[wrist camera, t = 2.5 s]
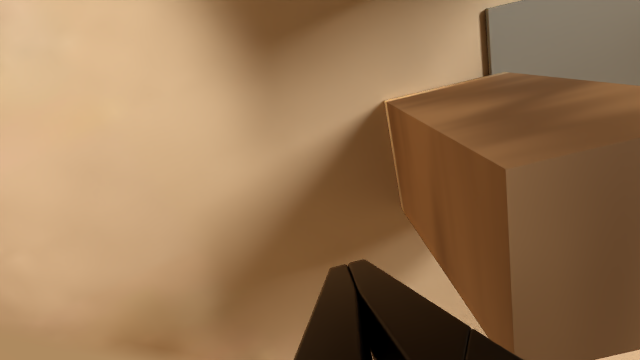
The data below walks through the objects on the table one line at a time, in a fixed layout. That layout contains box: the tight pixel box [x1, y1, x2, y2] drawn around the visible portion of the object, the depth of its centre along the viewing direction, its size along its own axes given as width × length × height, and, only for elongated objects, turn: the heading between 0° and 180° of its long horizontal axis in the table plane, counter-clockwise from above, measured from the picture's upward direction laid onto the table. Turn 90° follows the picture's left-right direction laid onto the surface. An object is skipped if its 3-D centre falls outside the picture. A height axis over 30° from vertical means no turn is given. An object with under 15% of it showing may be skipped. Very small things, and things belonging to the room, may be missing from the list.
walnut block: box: [384, 72, 640, 360], centre depth 11 cm, size 5×5×9 cm
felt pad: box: [485, 0, 640, 86], centre depth 16 cm, size 10×10×1 cm
